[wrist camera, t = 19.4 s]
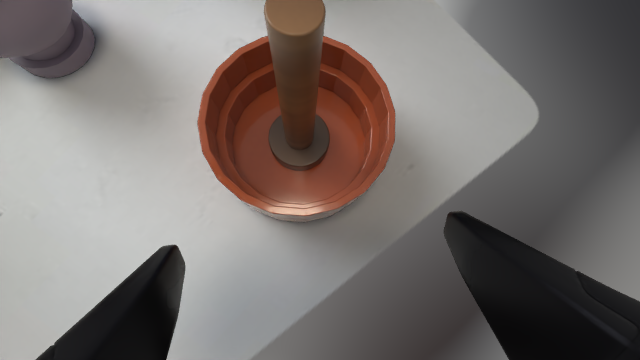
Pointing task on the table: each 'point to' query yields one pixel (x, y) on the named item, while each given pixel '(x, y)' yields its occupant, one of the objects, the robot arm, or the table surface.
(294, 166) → the wooden peg on base
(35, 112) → the table surface
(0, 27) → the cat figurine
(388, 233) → the table surface
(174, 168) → the table surface
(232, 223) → the table surface
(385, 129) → the mixing bowl
